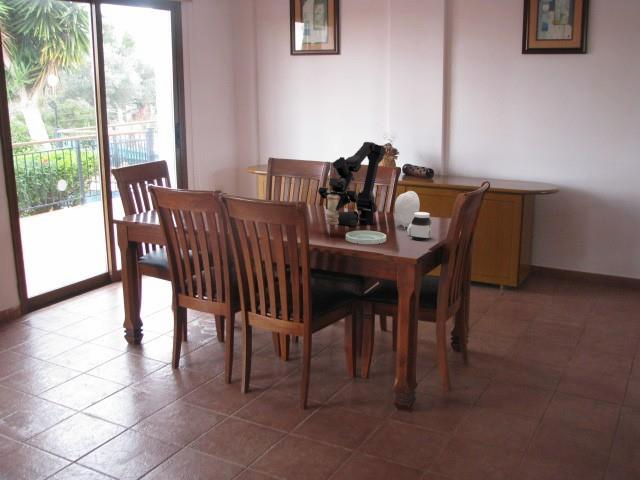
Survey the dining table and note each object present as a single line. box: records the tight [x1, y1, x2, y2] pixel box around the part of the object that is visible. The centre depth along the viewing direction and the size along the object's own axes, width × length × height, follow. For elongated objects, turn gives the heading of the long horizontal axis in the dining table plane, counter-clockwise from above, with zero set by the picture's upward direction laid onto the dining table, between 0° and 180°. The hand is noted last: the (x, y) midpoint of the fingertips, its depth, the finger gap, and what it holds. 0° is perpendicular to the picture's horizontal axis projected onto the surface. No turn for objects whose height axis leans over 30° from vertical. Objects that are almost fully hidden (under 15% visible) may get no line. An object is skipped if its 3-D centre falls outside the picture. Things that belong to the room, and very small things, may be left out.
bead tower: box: [325, 194, 340, 226], centre depth 319 cm, size 6×6×13 cm
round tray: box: [345, 230, 387, 245], centre depth 317 cm, size 18×18×2 cm
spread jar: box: [406, 211, 432, 241], centre depth 322 cm, size 12×11×12 cm
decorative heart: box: [394, 190, 421, 230], centre depth 342 cm, size 18×11×17 cm, turn 153°
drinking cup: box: [338, 210, 367, 227], centre depth 345 cm, size 8×8×20 cm
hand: (331, 209), depth 318 cm, fingers closed on bead tower, 5 cm apart
